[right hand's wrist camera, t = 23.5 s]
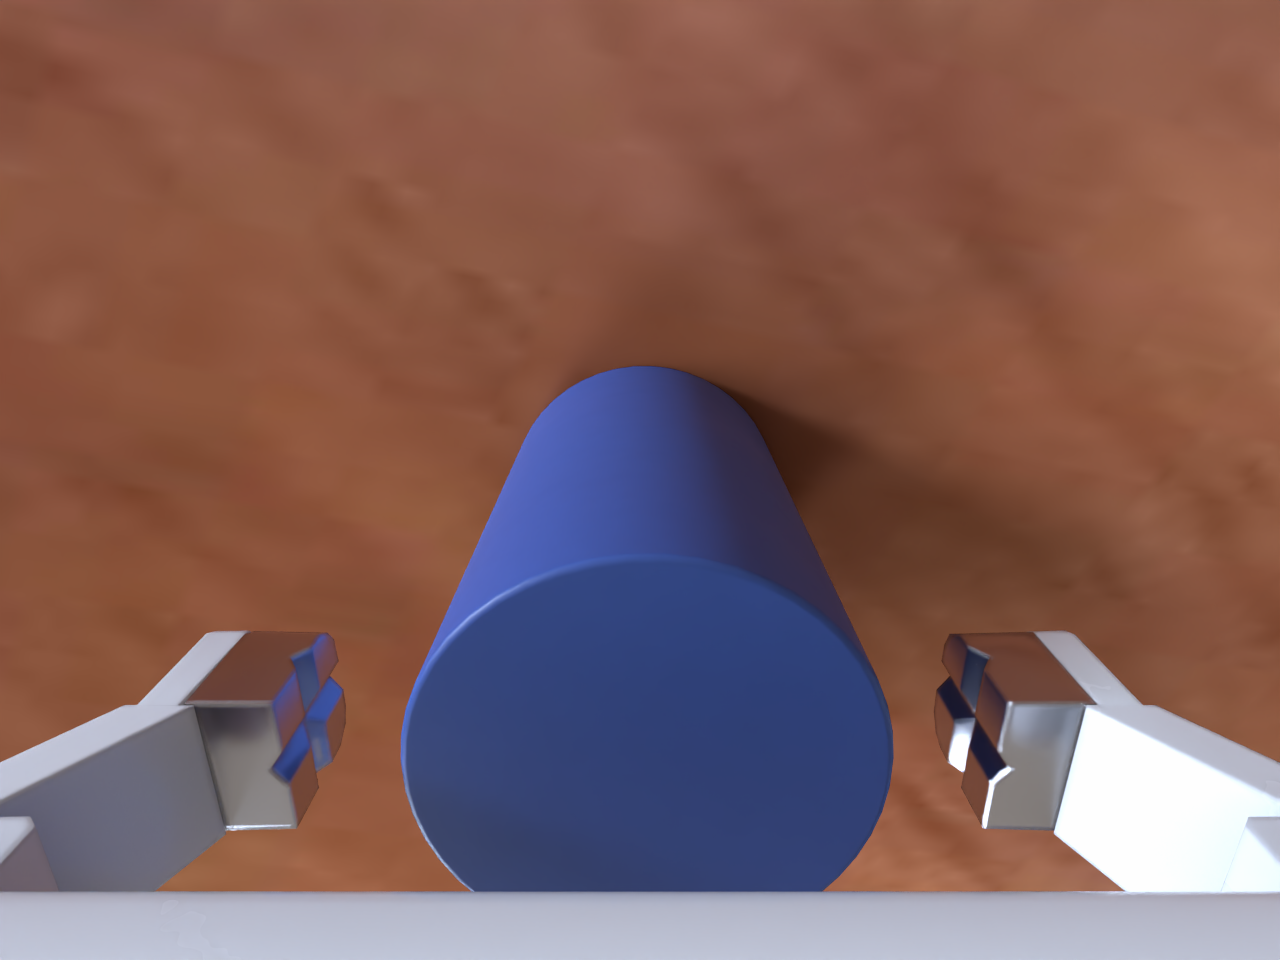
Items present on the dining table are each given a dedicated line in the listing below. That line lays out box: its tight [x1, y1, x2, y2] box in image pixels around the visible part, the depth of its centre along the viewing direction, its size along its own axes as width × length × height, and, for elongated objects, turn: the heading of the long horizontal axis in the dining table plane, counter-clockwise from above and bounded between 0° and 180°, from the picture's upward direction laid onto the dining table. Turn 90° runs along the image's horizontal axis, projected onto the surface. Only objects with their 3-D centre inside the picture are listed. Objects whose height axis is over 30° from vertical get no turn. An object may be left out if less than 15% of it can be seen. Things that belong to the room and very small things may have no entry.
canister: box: [401, 366, 893, 892], centre depth 13 cm, size 6×6×8 cm
